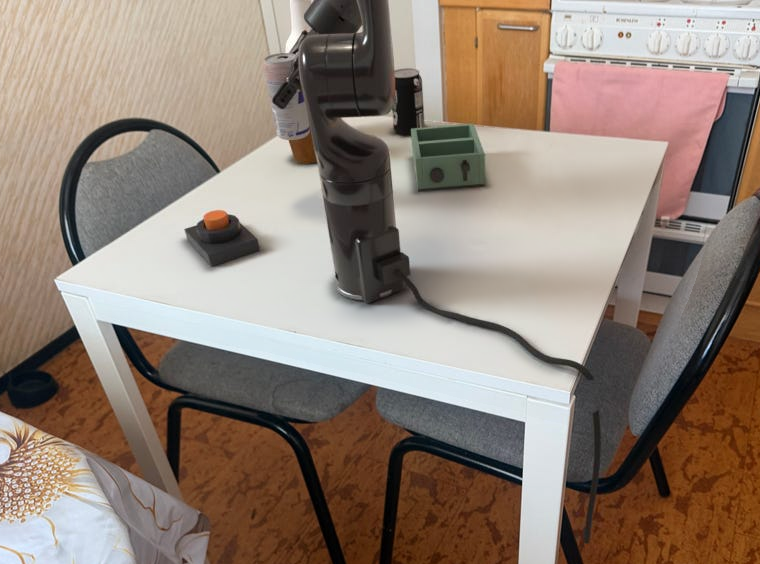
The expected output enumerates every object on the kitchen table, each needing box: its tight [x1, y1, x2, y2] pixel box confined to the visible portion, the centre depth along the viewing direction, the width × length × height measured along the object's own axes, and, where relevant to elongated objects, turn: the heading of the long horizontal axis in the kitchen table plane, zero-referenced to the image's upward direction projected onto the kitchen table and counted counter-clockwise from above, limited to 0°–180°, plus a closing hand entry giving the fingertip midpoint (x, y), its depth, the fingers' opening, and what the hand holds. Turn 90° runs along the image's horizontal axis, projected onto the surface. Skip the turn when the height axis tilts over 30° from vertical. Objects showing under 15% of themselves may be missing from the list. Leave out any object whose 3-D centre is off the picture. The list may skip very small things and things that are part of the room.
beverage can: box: [391, 67, 426, 137], centre depth 144 cm, size 7×7×12 cm
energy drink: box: [263, 52, 310, 141], centre depth 110 cm, size 5×5×12 cm
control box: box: [184, 213, 261, 268], centre depth 110 cm, size 11×8×4 cm
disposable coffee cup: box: [288, 114, 317, 165], centre depth 135 cm, size 10×10×12 cm
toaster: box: [410, 123, 486, 193], centre depth 127 cm, size 12×17×6 cm
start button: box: [202, 209, 229, 230], centre depth 109 cm, size 4×4×2 cm
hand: (276, 98), depth 110 cm, fingers closed on energy drink, 5 cm apart
